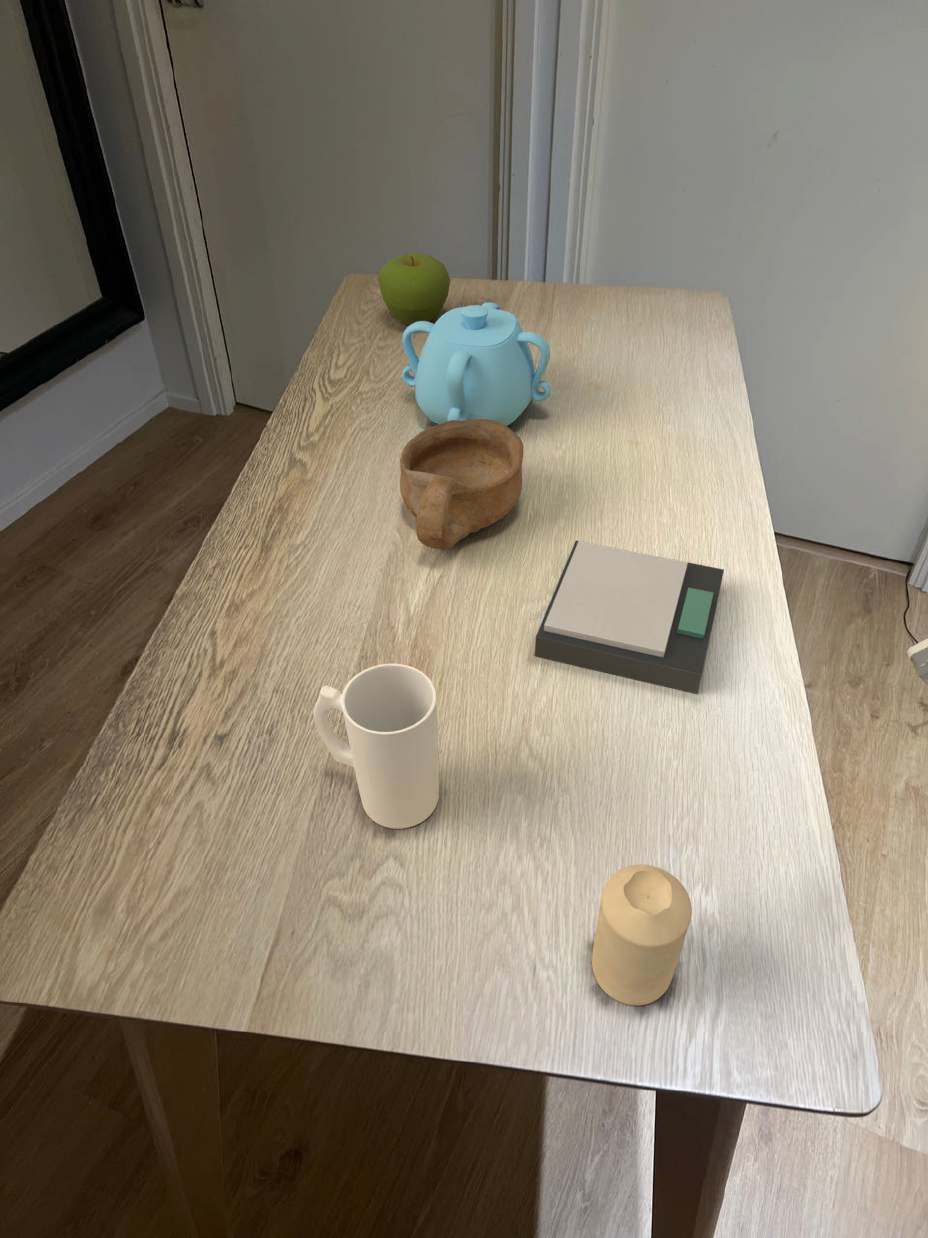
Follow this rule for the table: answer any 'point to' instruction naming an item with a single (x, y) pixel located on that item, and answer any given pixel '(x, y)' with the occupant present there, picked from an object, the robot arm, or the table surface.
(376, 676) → the mug
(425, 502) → the bowl
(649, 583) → the scale
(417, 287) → the apple
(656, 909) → the candle
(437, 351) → the decorative pot
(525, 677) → the table surface
